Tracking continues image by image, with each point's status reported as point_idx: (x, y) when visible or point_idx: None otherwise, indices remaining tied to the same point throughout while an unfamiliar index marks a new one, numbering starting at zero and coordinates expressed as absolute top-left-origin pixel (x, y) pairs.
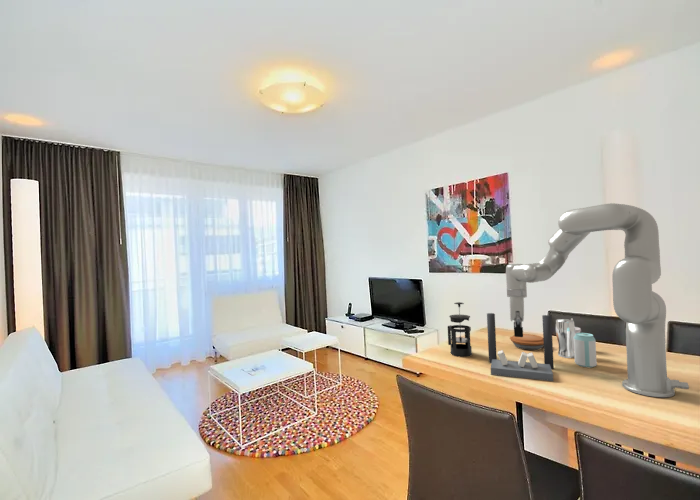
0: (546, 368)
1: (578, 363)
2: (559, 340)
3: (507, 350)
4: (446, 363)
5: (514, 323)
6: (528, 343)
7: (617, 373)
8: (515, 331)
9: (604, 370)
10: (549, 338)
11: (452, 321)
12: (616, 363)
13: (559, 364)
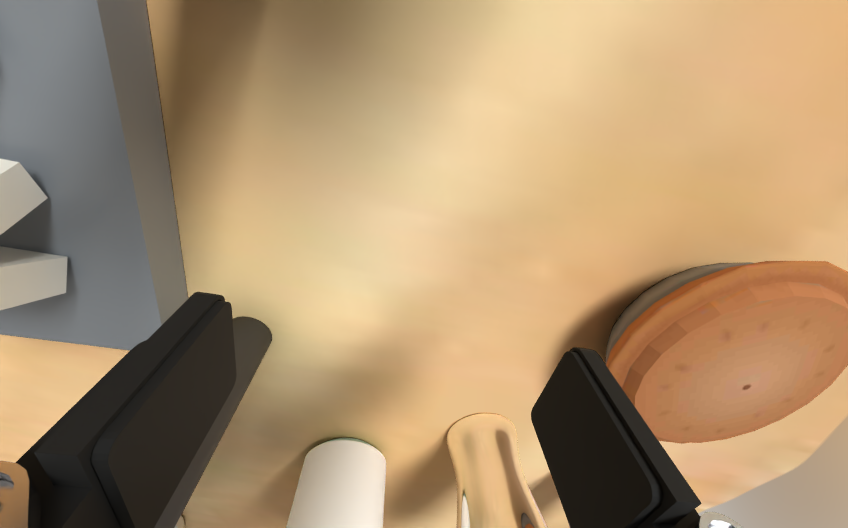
0: (52, 320)
1: (318, 449)
2: (486, 508)
3: (631, 185)
4: None
5: (641, 478)
6: (618, 350)
7: (267, 499)
8: (143, 369)
9: (291, 483)
10: None
11: None
12: (390, 520)
13: (332, 385)
